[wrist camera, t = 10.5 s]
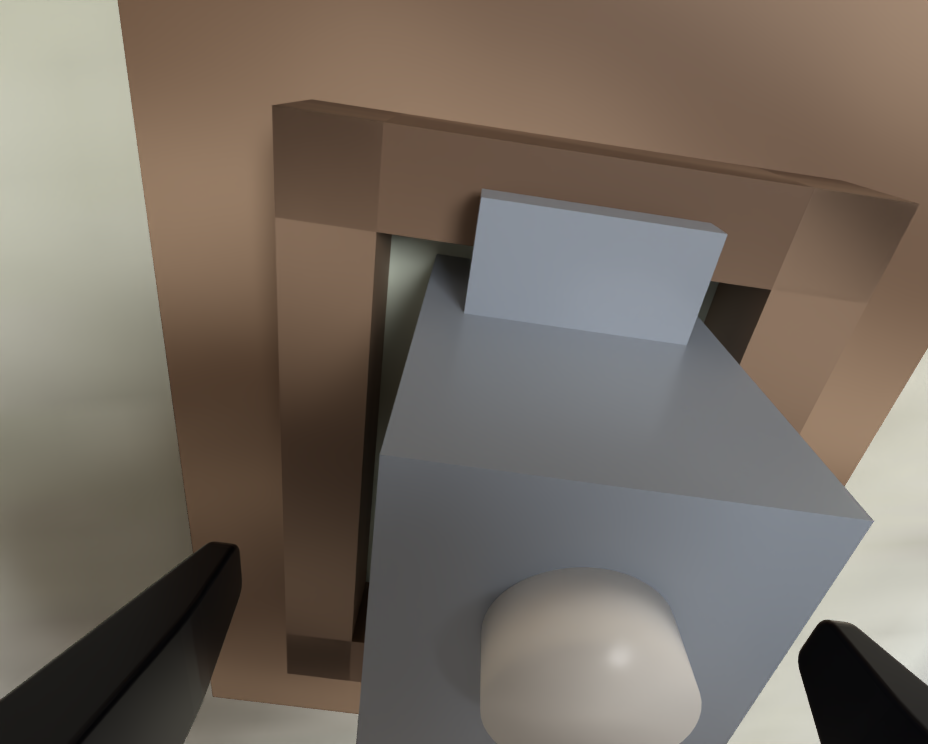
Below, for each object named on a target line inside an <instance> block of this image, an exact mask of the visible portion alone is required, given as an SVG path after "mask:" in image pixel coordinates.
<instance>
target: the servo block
mask: <svg viewBox="0 0 928 744" xmlns="http://www.w3.org/2000/svg"><path fill="white" fill-rule="evenodd" d="M727 235H728V234H727V233H725V232H724V231H722V230H721V229H719V228H718V227H716V226H715V225H713V224H712V223H707V222H701V221H694V220H687V219H681V218H674V217H668V216H661V215H654V214H648V213H641V212H634V211H628V210H621V209H615V208H608V207H601V206H595V205H588V204H582V203H575V202H568V201H562V200H555V199H548V198H542V197H535V196H529V195H522V194H515V193H509V192H502V191H495V190H489V189H482V191H481V197H480V204H479V211H478V218H477V224H476V231H475V238H474V244H473V251H472V258H471V259H469V258H462V257H455V256H449V255H442V254H437V255H436V258H435V262H434V265H433V269H432V272H431V276H430V279H429V283H428V286H427V290H426V293H425V297H424V300H423V304H422V308H421V311H420V315H419V318H418V322H417V325H416V329H415V332H414V336H413V339H412V343H411V346H410V350H409V353H408V357H407V360H406V364H405V367H404V371H403V375H402V378H401V382H400V385H399V389H398V392H397V396H396V399H395V403H394V406H393V410H392V413H391V417H390V420H389V424H388V427H387V431H386V434H385V438H384V441H383V445H382V449H381V452H380V458H379V470H378V483H377V495H376V507H375V520H374V532H373V544H372V557H371V569H370V581H369V594H368V606H367V618H366V631H365V643H364V655H363V668H362V680H361V692H360V705H359V717H358V729H357V741H356V744H727V742H728V741H729V739H730V738H731V736H732V735H733V733H734V732H735V730H736V729H737V727H738V726H739V724H740V723H741V721H742V720H743V718H744V717H745V715H746V714H747V712H748V711H749V709H750V708H751V706H752V705H753V703H754V702H755V700H756V699H757V697H758V696H759V694H760V693H761V691H762V690H763V688H764V687H765V685H766V683H767V682H768V680H769V679H770V677H771V676H772V674H773V673H774V671H775V670H776V668H777V667H778V665H779V664H780V662H781V661H782V659H783V658H784V656H785V655H786V653H787V652H788V650H789V649H790V647H791V646H792V644H793V643H794V641H795V640H796V638H797V637H798V635H799V634H800V632H801V631H802V629H803V628H804V626H805V625H806V623H807V622H808V620H809V619H810V617H811V616H812V614H813V612H814V611H815V609H816V608H817V606H818V605H819V603H820V602H821V600H822V599H823V597H824V596H825V594H826V593H827V591H828V590H829V588H830V587H831V585H832V584H833V582H834V581H835V579H836V578H837V576H838V575H839V573H840V572H841V570H842V569H843V567H844V566H845V564H846V563H847V561H848V560H849V558H850V557H851V555H852V554H853V552H854V551H855V549H856V548H857V546H858V545H859V543H860V541H861V540H862V538H863V537H864V535H865V534H866V532H867V531H868V529H869V528H870V526H871V525H872V523H873V522H874V521H873V519H872V518H871V517H870V516H869V515H868V514H867V513H866V511H865V510H864V509H863V508H862V507H861V506H860V504H859V503H858V502H857V501H856V500H855V499H854V497H853V496H852V495H851V494H850V493H849V492H848V490H847V489H846V488H845V487H844V486H843V485H842V483H841V482H840V481H839V480H838V479H837V478H836V476H835V475H834V474H833V473H832V472H831V471H830V469H829V468H828V467H827V466H826V465H825V464H824V462H823V461H822V460H821V459H820V458H819V457H818V456H817V454H816V453H815V452H814V451H813V450H812V449H811V447H810V446H809V445H808V444H807V443H806V442H805V440H804V439H803V438H802V437H801V436H800V435H799V433H798V432H797V431H796V430H795V429H794V428H793V426H792V425H791V424H790V423H789V422H788V421H787V419H786V418H785V417H784V416H783V415H782V414H781V412H780V411H779V410H778V409H777V408H776V407H775V406H774V404H773V403H772V402H771V401H770V400H769V399H768V397H767V396H766V395H765V394H764V393H763V392H762V390H761V389H760V388H759V387H758V386H757V385H756V383H755V382H754V381H753V380H752V379H751V378H750V376H749V375H748V374H747V373H746V372H745V371H744V369H743V368H742V367H741V366H740V365H739V364H738V362H737V361H736V360H735V359H734V358H733V357H732V355H731V354H730V353H729V352H728V351H727V350H726V349H725V347H724V346H723V345H722V344H721V343H720V342H719V340H718V339H717V338H716V337H715V336H714V335H713V333H712V332H711V331H710V330H709V329H708V328H707V326H706V325H705V324H704V323H703V322H702V321H701V319H700V318H699V317H698V313H699V311H700V308H701V305H702V303H703V300H704V297H705V294H706V292H707V289H708V286H709V284H710V281H711V278H712V275H713V273H714V270H715V267H716V265H717V262H718V259H719V256H720V254H721V251H722V248H723V246H724V243H725V240H726V237H727Z"/></svg>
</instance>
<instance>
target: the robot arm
mask: <svg viewBox="0 0 928 744" xmlns="http://www.w3.org/2000/svg"><path fill="white" fill-rule="evenodd" d="M241 588H242V573H241V560H240V550H239V547H238V546H237V545H236V544H232V543H224V542H217V541H212V542H209V543H207V544H205V545H204V546H203V547H201V548H200V549H199V550H197V551H196V552H195V553H193V554H192V555H191V556H189V557H188V558H187V559H185V560H184V561H183V562H181V563H180V564H179V565H177V566H176V567H175V568H174V569H172V570H171V571H170V572H168V573H167V574H166V575H164V576H163V577H162V578H160V579H159V580H158V581H156V582H155V583H154V584H152V585H151V586H150V587H148V588H147V589H146V590H145V591H143V592H142V593H141V594H139V595H138V596H137V597H135V598H134V599H133V600H131V601H130V602H129V603H127V604H126V605H125V606H123V607H122V608H121V609H119V610H118V611H117V612H116V613H114V614H113V615H112V616H110V617H109V618H108V619H106V620H105V621H104V622H102V623H101V624H100V625H98V626H97V627H96V628H94V629H93V630H92V631H90V632H89V633H88V634H86V635H85V636H84V637H83V638H81V639H80V640H79V641H77V642H76V643H75V644H73V645H72V646H71V647H69V648H68V649H67V650H65V651H64V652H63V653H61V654H60V655H59V656H57V657H56V658H55V659H54V660H52V661H51V662H50V663H48V664H47V665H46V666H44V667H43V668H42V669H40V670H39V671H38V672H36V673H35V674H34V675H32V676H31V677H30V678H28V679H27V680H26V681H24V682H23V683H22V684H21V685H19V686H18V687H17V688H15V689H14V690H13V691H11V692H10V693H9V694H7V695H6V696H5V697H3V698H2V699H1V700H0V744H184V741H185V739H186V737H187V735H188V733H189V731H190V729H191V727H192V724H193V722H194V720H195V718H196V716H197V713H198V711H199V709H200V706H201V704H202V702H203V699H204V697H205V694H206V691H207V689H208V686H209V683H210V680H211V677H212V675H213V672H214V669H215V666H216V663H217V660H218V657H219V654H220V652H221V649H222V646H223V643H224V640H225V637H226V634H227V632H228V629H229V626H230V623H231V620H232V617H233V614H234V612H235V609H236V606H237V603H238V600H239V597H240V593H241ZM798 665H799V670H800V674H801V677H802V680H803V684H804V687H805V691H806V694H807V698H808V701H809V705H810V708H811V711H812V715H813V718H814V722H815V725H816V729H817V732H818V736H819V739H820V742H821V744H928V686H927V685H926V684H925V683H924V682H923V681H921V680H920V679H919V678H918V677H917V676H915V675H914V674H913V673H912V672H910V671H909V670H908V669H907V668H906V667H904V666H903V665H902V664H901V663H900V662H898V661H897V660H896V659H895V658H894V657H892V656H891V655H890V654H889V653H888V652H886V651H885V650H884V649H883V648H882V647H880V646H879V645H878V644H877V643H876V642H874V641H873V640H872V639H871V638H870V637H868V636H867V635H866V634H865V633H864V632H862V631H861V630H860V629H859V628H857V627H856V626H855V625H853V624H850V623H847V622H841V621H833V620H823V621H821V622H820V623H819V624H818V625H817V626H816V628H815V629H814V630H813V632H812V633H811V635H810V636H809V638H808V639H807V641H806V642H805V644H804V645H803V647H802V648H801V650H800V652H799V656H798Z"/></svg>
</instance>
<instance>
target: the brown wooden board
mask: <svg viewBox="0 0 928 744" xmlns="http://www.w3.org/2000/svg"><path fill="white" fill-rule="evenodd" d="M118 6H119V14H120V21H121V28H122V36H123V43H124V50H125V58H126V65H127V72H128V80H129V87H130V94H131V102H132V109H133V116H134V124H135V131H136V138H137V146H138V153H139V160H140V167H141V175H142V182H143V189H144V197H145V204H146V211H147V219H148V226H149V233H150V241H151V248H152V255H153V263H154V270H155V277H156V285H157V292H158V299H159V307H160V314H161V321H162V329H163V336H164V343H165V351H166V358H167V365H168V372H169V380H170V387H171V394H172V402H173V409H174V416H175V424H176V431H177V438H178V446H179V453H180V460H181V468H182V475H183V482H184V490H185V497H186V504H187V512H188V519H189V526H190V534H191V541H192V548H193V553H195V552H196V551H197V550H199V549H200V548H201V547H203V546H204V545H205V544H207V543H209V542H212V541H217V542H224V543H232V544H236V545H237V546H238V547H239V550H240V560H241V573H242V588H241V593H240V597H239V600H238V603H237V606H236V609H235V612H234V614H233V617H232V620H231V623H230V626H229V629H228V632H227V634H226V637H225V640H224V643H223V646H222V649H221V652H220V654H219V657H218V660H217V663H216V666H215V669H214V672H213V675H212V677H211V687H212V695H213V697H220V698H228V699H237V700H245V701H254V702H262V703H271V704H279V705H287V706H296V707H304V708H313V709H321V710H329V711H338V712H346V713H355V714H359V705H360V692H361V680H362V668H363V655H364V643H365V631H366V618H367V606H368V594H369V581H370V569H371V557H372V544H373V532H374V520H375V507H376V495H377V483H378V470H379V458H380V452H381V449H382V445H383V441H384V438H385V434H386V431H387V427H388V424H389V420H390V417H391V413H392V410H393V406H394V403H395V399H396V396H397V392H398V389H399V385H400V382H401V378H402V375H403V371H404V367H405V364H406V360H407V357H408V353H409V350H410V346H411V343H412V339H413V336H414V332H415V329H416V325H417V322H418V318H419V315H420V311H421V308H422V304H423V300H424V297H425V293H426V290H427V286H428V283H429V279H430V276H431V272H432V269H433V265H434V262H435V258H436V255H437V254H442V255H449V256H455V257H462V258H469V259H471V258H472V251H473V244H474V238H475V231H476V224H477V218H478V211H479V204H480V197H481V191H482V189H489V190H495V191H502V192H509V193H515V194H522V195H529V196H535V197H542V198H548V199H555V200H562V201H568V202H575V203H582V204H588V205H595V206H601V207H608V208H615V209H621V210H628V211H634V212H641V213H648V214H654V215H661V216H668V217H674V218H681V219H687V220H694V221H701V222H707V223H712V224H713V225H715V226H716V227H718V228H719V229H721V230H722V231H724V232H725V233H727V234H728V235H727V237H726V240H725V243H724V246H723V248H722V251H721V254H720V256H719V259H718V262H717V265H716V267H715V270H714V273H713V275H712V278H711V281H710V284H709V286H708V289H707V292H706V294H705V297H704V300H703V303H702V305H701V308H700V311H699V313H698V317H699V318H700V319H701V321H702V322H703V323H704V324H705V325H706V326H707V328H708V329H709V330H710V331H711V332H712V333H713V335H714V336H715V337H716V338H717V339H718V340H719V342H720V343H721V344H722V345H723V346H724V347H725V349H726V350H727V351H728V352H729V353H730V354H731V355H732V357H733V358H734V359H735V360H736V361H737V362H738V364H739V365H740V366H741V367H742V368H743V369H744V371H745V372H746V373H747V374H748V375H749V376H750V378H751V379H752V380H753V381H754V382H755V383H756V385H757V386H758V387H759V388H760V389H761V390H762V392H763V393H764V394H765V395H766V396H767V397H768V399H769V400H770V401H771V402H772V403H773V404H774V406H775V407H776V408H777V409H778V410H779V411H780V412H781V414H782V415H783V416H784V417H785V418H786V419H787V421H788V422H789V423H790V424H791V425H792V426H793V428H794V429H795V430H796V431H797V432H798V433H799V435H800V436H801V437H802V438H803V439H804V440H805V442H806V443H807V444H808V445H809V446H810V447H811V449H812V450H813V451H814V452H815V453H816V454H817V456H818V457H819V458H820V459H821V460H822V461H823V462H824V464H825V465H826V466H827V467H828V468H829V469H830V471H831V472H832V473H833V474H834V475H835V476H836V478H837V479H838V480H839V481H840V482H841V483H842V485H843V486H845V485H846V483H847V481H848V480H849V478H850V476H851V475H852V473H853V471H854V470H855V468H856V466H857V465H858V463H859V461H860V460H861V458H862V456H863V455H864V453H865V451H866V450H867V448H868V446H869V445H870V443H871V441H872V440H873V438H874V436H875V435H876V433H877V431H878V430H879V428H880V426H881V425H882V423H883V421H884V420H885V418H886V416H887V415H888V413H889V411H890V410H891V408H892V406H893V405H894V403H895V401H896V400H897V398H898V396H899V395H900V393H901V391H902V390H903V388H904V386H905V385H906V383H907V382H908V380H909V378H910V377H911V375H912V373H913V372H914V370H915V368H916V367H917V365H918V363H919V362H920V360H921V358H922V357H923V355H924V353H925V352H926V350H927V348H928V0H118Z"/></svg>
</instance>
